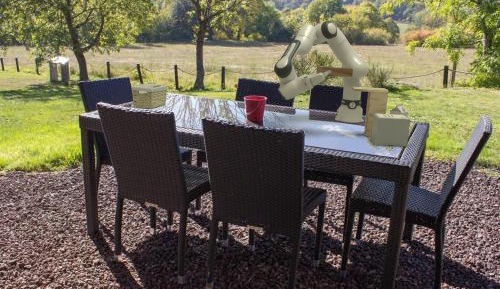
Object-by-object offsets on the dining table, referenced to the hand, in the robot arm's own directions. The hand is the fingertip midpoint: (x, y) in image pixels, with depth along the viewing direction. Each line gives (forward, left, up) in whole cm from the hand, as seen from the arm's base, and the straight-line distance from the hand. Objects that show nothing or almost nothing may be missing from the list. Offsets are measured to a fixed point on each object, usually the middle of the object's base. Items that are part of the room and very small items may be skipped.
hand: (330, 70), depth 252 cm
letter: (+16, +32, -21) cm, 41 cm away
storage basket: (-59, -115, -35) cm, 134 cm away
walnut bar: (0, +2, -3) cm, 4 cm away
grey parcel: (+16, +32, -35) cm, 50 cm away
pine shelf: (-1, +24, -35) cm, 42 cm away
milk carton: (+3, +39, -35) cm, 52 cm away
